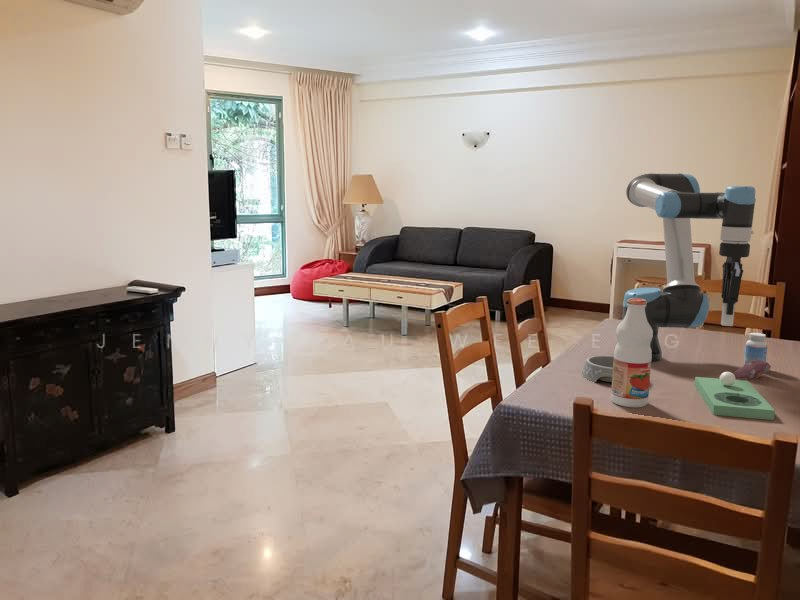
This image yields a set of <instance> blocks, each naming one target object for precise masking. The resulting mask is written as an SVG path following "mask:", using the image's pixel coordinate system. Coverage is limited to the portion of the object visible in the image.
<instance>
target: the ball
mask: <svg viewBox="0 0 800 600" xmlns="http://www.w3.org/2000/svg"><path fill="white" fill-rule="evenodd" d="M719 379H720V382H721V383H722V384H723V385H725V386H731V385H733V384H734V383H735V381H736V380H737V379H736V377H735V376H734V372H733V373H732V372H731V371H724V372H722V373H721V374H720V375H719Z"/></svg>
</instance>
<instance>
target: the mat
mask: <svg viewBox="0 0 800 600" xmlns="http://www.w3.org/2000/svg"><path fill="white" fill-rule="evenodd" d="M693 384H694V386H695V388H696V390H697V391H698V393H699V395H700V396H701V398H702V399H703V401H704V403H705V405H706V406H707V407H708V409H709V410H710V412H711V414H712V415H714V416H722V417H723V416H725V417H734V418H735V417H736V418H747V419H759V420H769V421H770V420H771V421H774V420H775V414H776V410H775V408H773V406H771V404H770V403H769V402H768V401H767V400H766V399H765V398H764V397H763V395H762V394H761V393H759V391H758V390H757V389H756V388H755V387H754V386H753V385H752V384H751V383H750V382H749V381H748V380H741V379H740V380H739V379H736V381H735V383H734V384H733V385H731V386H725V385H723V384H722V383H721V382H720V378H716V377H715V378H714V377H701V376H695V377H694V383H693Z"/></svg>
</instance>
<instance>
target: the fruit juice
mask: <svg viewBox="0 0 800 600" xmlns="http://www.w3.org/2000/svg"><path fill="white" fill-rule="evenodd" d="M627 305H628V309H627V312H626V315H625V317H624V319H623V321H622V320H621V322H620V323H619V324H618V325H617V327H616V330H615V334H616V335H615V336H616V340H617V342H616V344H617V345H616V344H615V347H614V351H613V356H614V361H613V375H612V382H611V391H610V399H611V402H612V403H614V404H616V405H619V406H620V407H626V408H636V409H637V408H642V407H646V406H647V405H648V401H649V394H650V381H651V380H650V379H651V369H652V362H651V360H652V351H651V348H650V343H651V340H652V337H653V330H652V328H651V326H650V324H649V323H648V321H647V318H646V314H645V307H646V305H647V300H645V299H640V298H628V299H627Z"/></svg>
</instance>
